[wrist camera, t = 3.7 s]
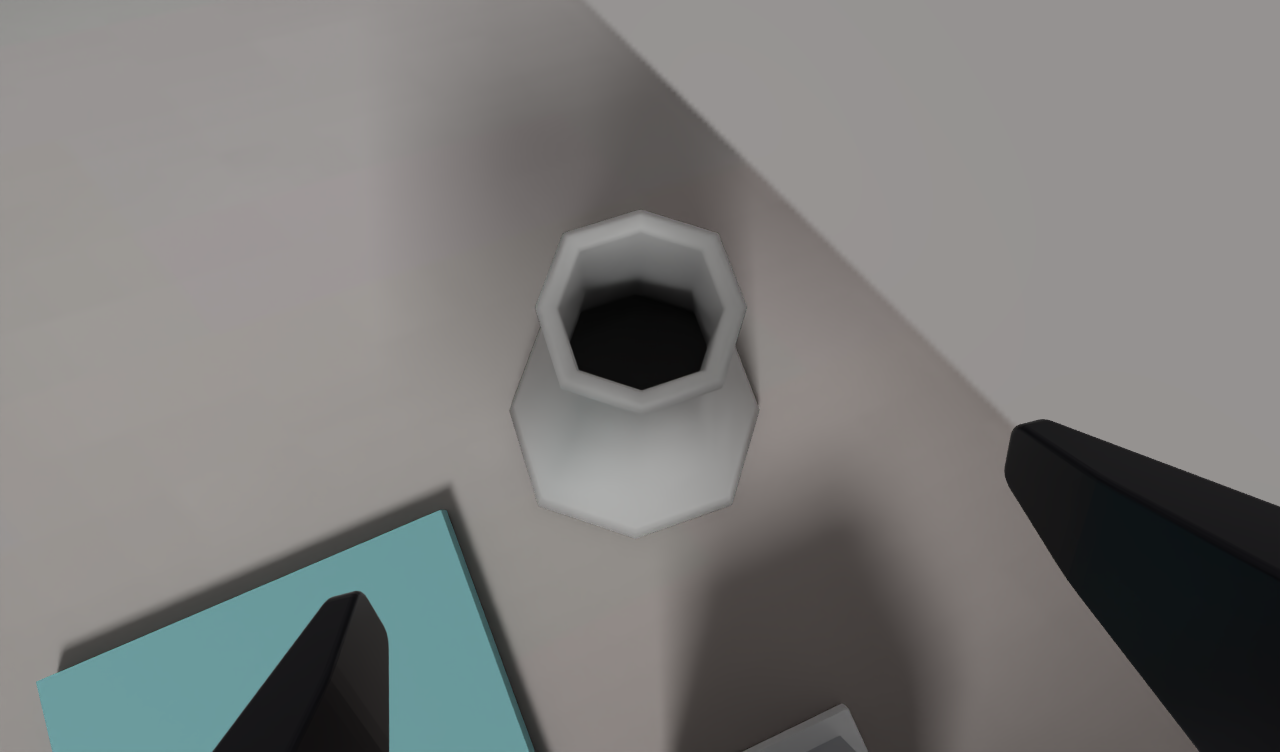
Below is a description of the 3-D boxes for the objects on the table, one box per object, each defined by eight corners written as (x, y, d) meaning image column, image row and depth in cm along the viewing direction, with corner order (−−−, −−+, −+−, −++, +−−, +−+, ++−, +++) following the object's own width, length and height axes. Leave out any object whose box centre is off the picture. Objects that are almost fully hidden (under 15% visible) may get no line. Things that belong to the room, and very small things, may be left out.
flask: (515, 293, 21) (413, 90, 11) (752, 294, 21) (863, 92, 11) (506, 539, 19) (381, 557, 9) (763, 537, 19) (901, 554, 10)
